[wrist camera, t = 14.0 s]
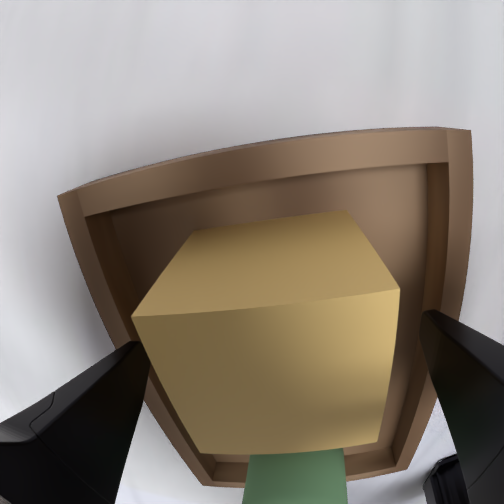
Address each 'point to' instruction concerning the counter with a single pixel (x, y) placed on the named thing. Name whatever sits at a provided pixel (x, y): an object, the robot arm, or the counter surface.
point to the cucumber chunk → (296, 478)
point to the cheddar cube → (274, 335)
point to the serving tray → (281, 206)
